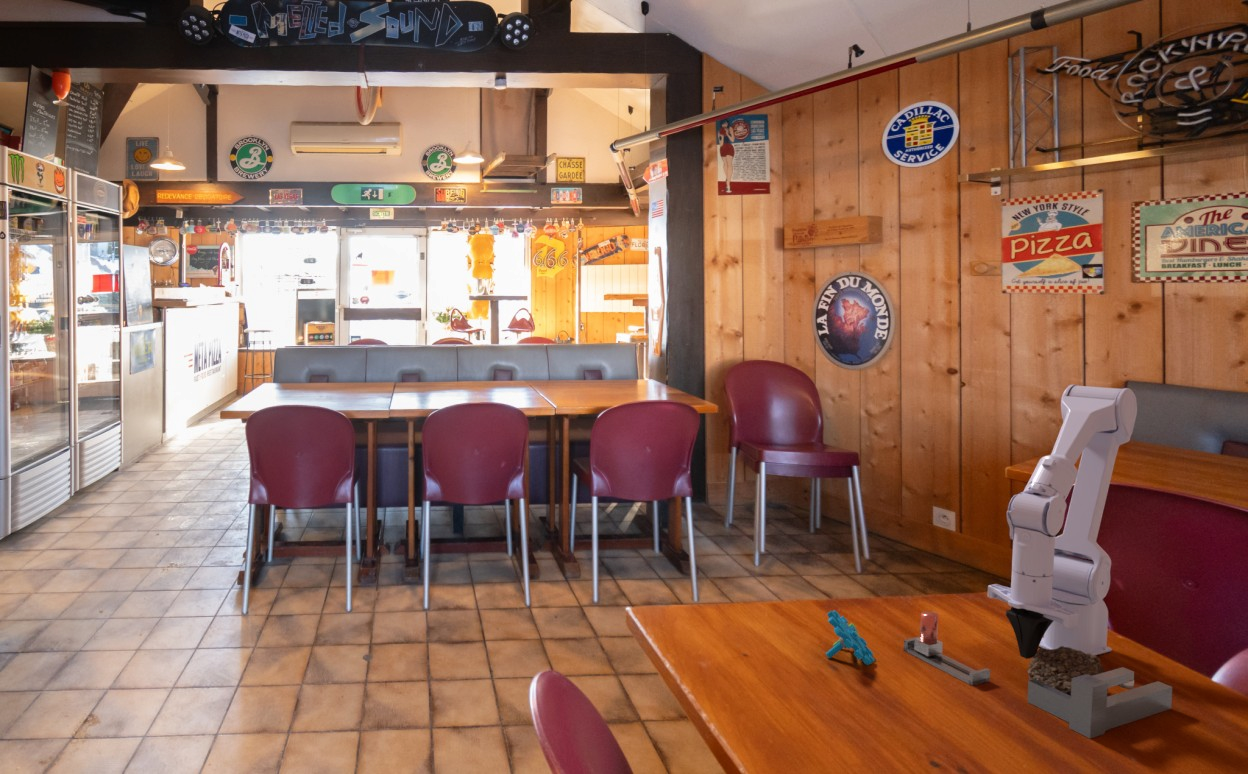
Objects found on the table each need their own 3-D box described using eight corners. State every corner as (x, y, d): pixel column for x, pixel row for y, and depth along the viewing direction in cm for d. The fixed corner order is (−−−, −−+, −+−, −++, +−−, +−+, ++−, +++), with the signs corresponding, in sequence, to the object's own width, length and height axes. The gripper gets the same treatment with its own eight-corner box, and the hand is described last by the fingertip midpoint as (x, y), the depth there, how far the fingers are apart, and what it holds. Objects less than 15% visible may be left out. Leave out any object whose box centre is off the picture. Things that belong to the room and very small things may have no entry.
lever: (928, 646, 135) (929, 609, 134) (942, 653, 132) (943, 616, 131) (914, 649, 133) (915, 612, 133) (928, 656, 131) (929, 618, 130)
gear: (875, 667, 125) (830, 614, 128) (846, 690, 126) (801, 637, 129) (880, 649, 135) (838, 600, 138) (853, 671, 137) (811, 622, 139)
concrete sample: (1049, 667, 129) (1050, 636, 128) (1116, 692, 120) (1118, 659, 120) (1007, 685, 122) (1008, 653, 122) (1075, 713, 114) (1077, 678, 114)
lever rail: (920, 646, 137) (920, 636, 136) (989, 681, 124) (990, 669, 124) (903, 650, 135) (904, 639, 135) (972, 685, 123) (972, 674, 122)
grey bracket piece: (1103, 679, 125) (1106, 635, 124) (1174, 710, 115) (1177, 662, 114) (1021, 703, 117) (1023, 656, 116) (1089, 738, 108) (1093, 687, 107)
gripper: (975, 561, 131) (971, 643, 132) (1056, 589, 118) (1051, 680, 119) (1006, 555, 134) (1002, 636, 135) (1089, 582, 121) (1084, 671, 122)
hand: (1027, 656), depth 127 cm, fingers closed
